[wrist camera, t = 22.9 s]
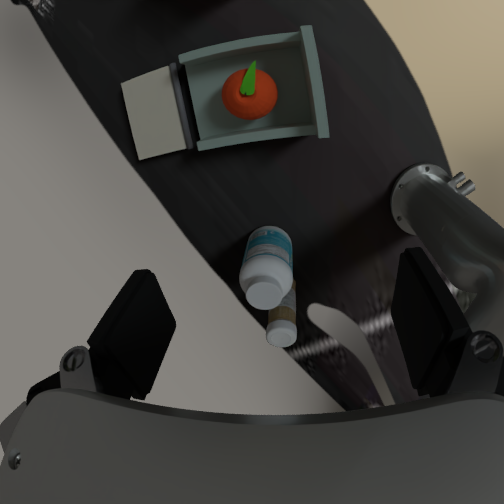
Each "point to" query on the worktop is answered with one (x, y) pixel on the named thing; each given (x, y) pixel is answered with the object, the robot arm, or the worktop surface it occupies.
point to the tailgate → (157, 112)
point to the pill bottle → (267, 267)
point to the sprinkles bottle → (283, 321)
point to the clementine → (249, 93)
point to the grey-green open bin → (278, 68)
